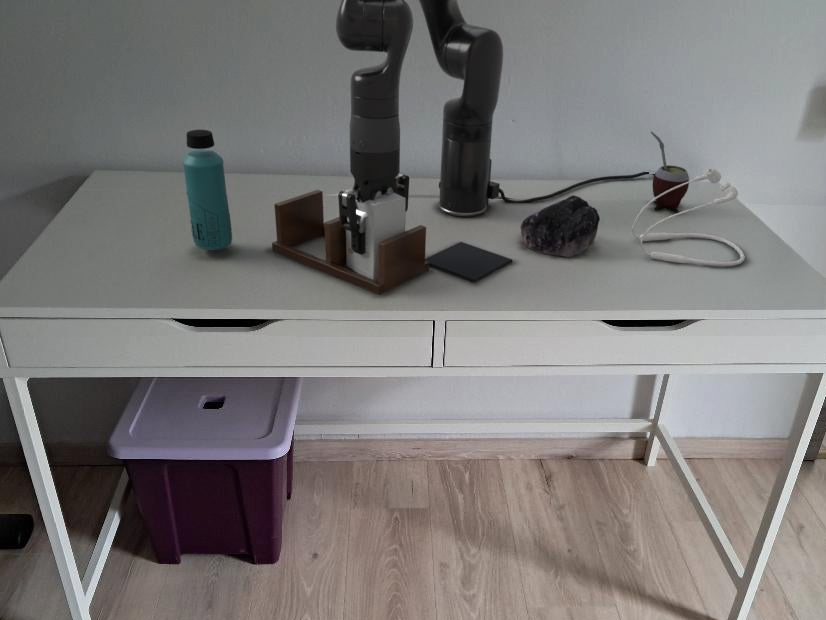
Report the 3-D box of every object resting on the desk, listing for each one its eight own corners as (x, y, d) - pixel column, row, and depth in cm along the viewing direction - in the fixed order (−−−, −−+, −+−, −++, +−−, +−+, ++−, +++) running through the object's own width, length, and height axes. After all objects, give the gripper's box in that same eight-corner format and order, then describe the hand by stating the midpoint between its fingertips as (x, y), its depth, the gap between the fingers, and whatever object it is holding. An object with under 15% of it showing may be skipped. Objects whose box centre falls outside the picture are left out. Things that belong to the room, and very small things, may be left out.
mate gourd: (690, 210, 162) (706, 136, 154) (663, 216, 158) (678, 141, 150) (663, 199, 167) (677, 126, 159) (636, 205, 163) (649, 131, 155)
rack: (324, 230, 143) (322, 187, 139) (429, 270, 131) (431, 224, 127) (272, 250, 135) (268, 205, 131) (379, 295, 123) (379, 247, 119)
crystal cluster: (507, 236, 147) (510, 186, 141) (572, 223, 151) (577, 174, 145) (540, 271, 137) (545, 219, 131) (608, 256, 141) (616, 205, 135)
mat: (460, 244, 141) (461, 241, 141) (512, 262, 136) (512, 259, 135) (421, 263, 134) (421, 260, 133) (474, 283, 128) (474, 279, 128)
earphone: (620, 214, 147) (707, 155, 141) (663, 278, 154) (747, 224, 149) (638, 243, 135) (733, 180, 130) (684, 311, 143) (776, 254, 137)
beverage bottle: (241, 247, 136) (229, 128, 125) (219, 262, 130) (205, 139, 119) (208, 240, 137) (193, 123, 126) (185, 255, 132) (168, 133, 121)
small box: (405, 274, 130) (407, 197, 123) (373, 284, 126) (373, 205, 119) (376, 257, 135) (376, 182, 128) (345, 266, 131) (343, 189, 124)
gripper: (387, 129, 126) (387, 227, 135) (322, 147, 116) (326, 252, 125) (424, 139, 122) (421, 240, 131) (360, 158, 112) (361, 266, 121)
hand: (375, 245), depth 128 cm, fingers closed on small box, 7 cm apart
